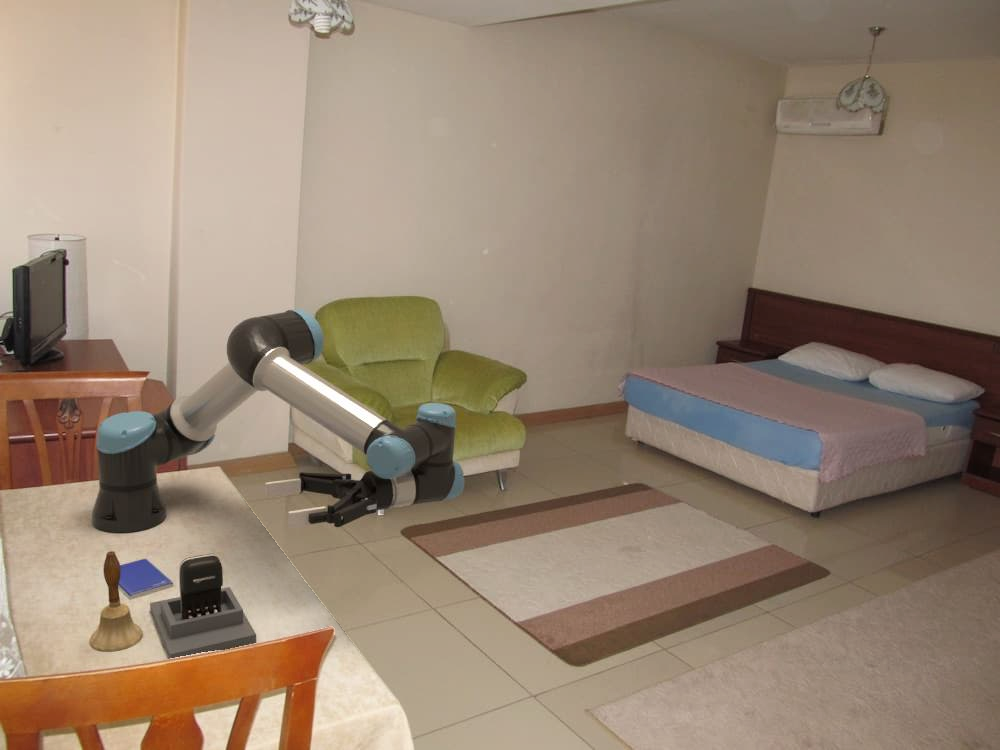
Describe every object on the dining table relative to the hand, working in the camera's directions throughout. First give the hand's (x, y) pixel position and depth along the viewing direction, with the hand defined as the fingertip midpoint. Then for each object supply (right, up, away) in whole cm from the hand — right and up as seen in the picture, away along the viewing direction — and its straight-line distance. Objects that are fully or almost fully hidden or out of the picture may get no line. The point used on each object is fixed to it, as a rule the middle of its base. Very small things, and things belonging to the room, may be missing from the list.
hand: (276, 504), depth 151 cm
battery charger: (-13, -20, -1) cm, 24 cm away
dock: (-13, -21, -1) cm, 25 cm away
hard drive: (-30, -17, +13) cm, 37 cm away
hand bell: (-26, -22, -6) cm, 34 cm away
